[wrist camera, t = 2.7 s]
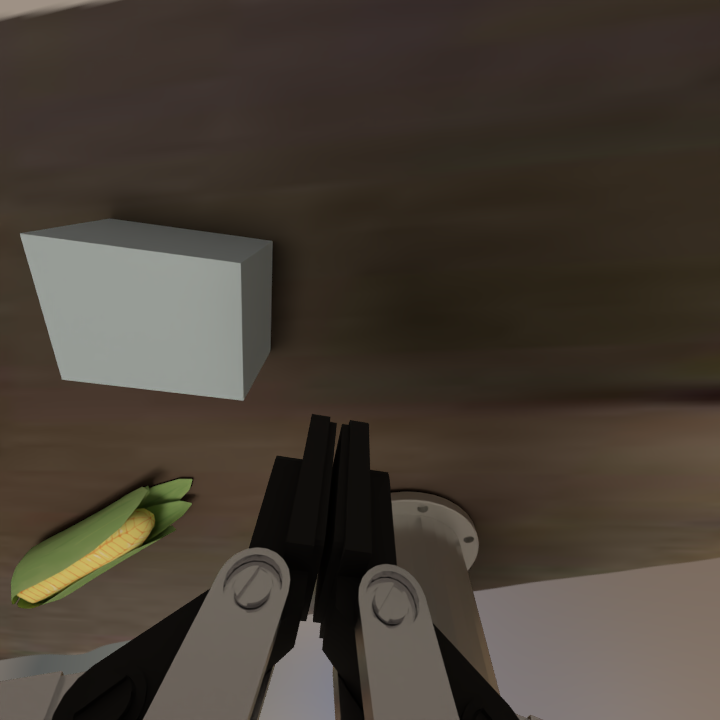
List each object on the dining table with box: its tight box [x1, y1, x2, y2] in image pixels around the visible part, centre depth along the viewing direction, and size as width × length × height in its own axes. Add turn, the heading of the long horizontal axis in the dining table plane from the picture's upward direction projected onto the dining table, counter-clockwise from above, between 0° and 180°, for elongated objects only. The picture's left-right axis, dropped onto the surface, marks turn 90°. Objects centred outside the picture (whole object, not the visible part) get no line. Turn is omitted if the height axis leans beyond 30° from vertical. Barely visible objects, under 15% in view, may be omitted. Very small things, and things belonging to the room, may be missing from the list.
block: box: [20, 219, 273, 401], centre depth 19 cm, size 7×9×6 cm
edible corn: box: [11, 479, 192, 608], centre depth 30 cm, size 5×20×5 cm, turn 125°
